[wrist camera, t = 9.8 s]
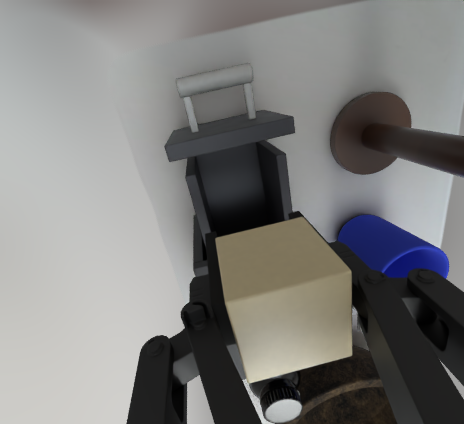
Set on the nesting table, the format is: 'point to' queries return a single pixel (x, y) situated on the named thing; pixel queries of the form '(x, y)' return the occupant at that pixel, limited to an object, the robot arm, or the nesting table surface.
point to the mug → (391, 247)
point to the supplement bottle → (279, 397)
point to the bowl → (344, 392)
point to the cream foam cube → (285, 298)
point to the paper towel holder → (390, 138)
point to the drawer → (233, 159)
